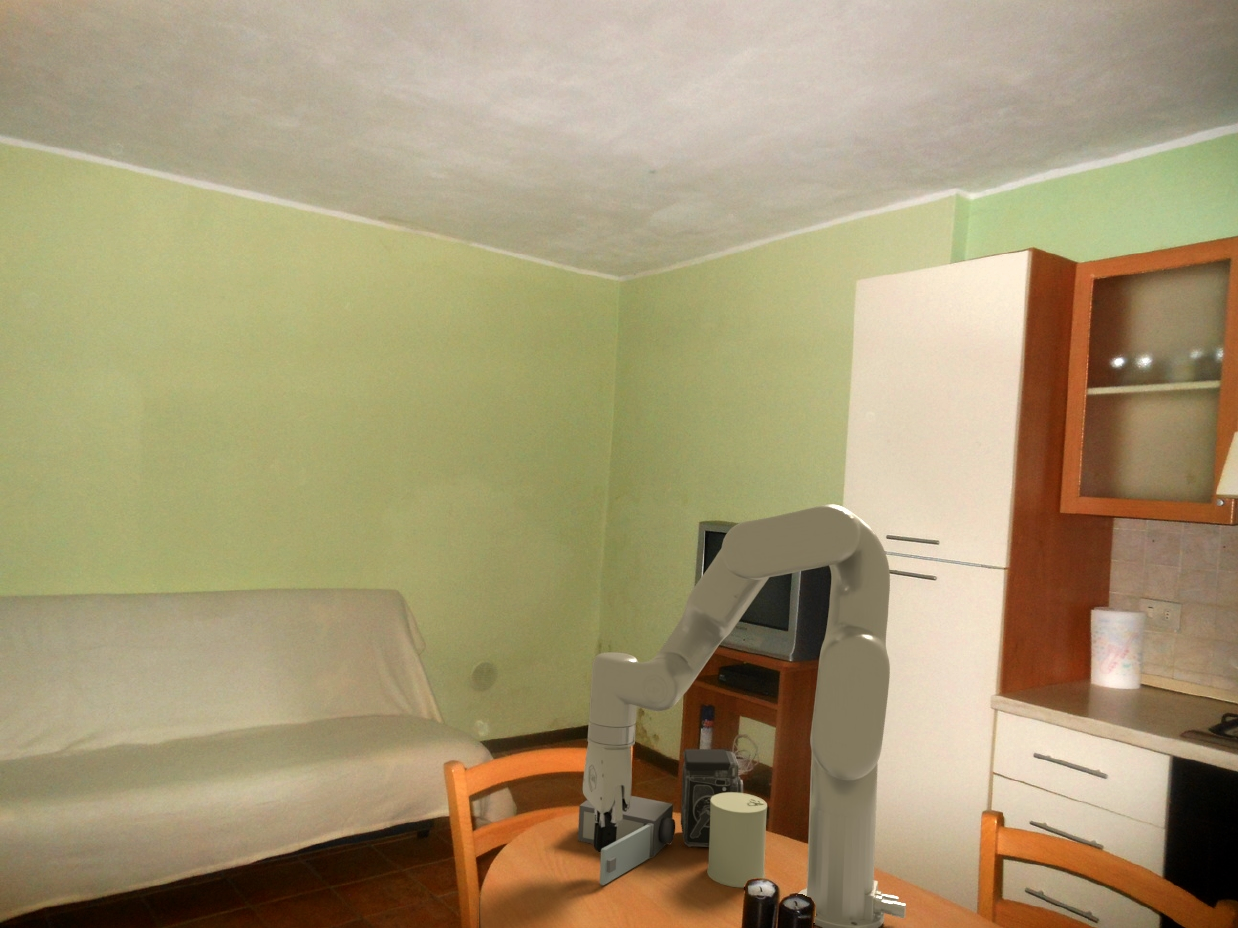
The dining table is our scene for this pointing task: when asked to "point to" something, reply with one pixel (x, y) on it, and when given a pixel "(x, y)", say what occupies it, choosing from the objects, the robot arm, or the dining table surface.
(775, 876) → the dining table surface
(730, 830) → the can
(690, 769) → the camera
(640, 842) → the side door
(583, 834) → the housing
